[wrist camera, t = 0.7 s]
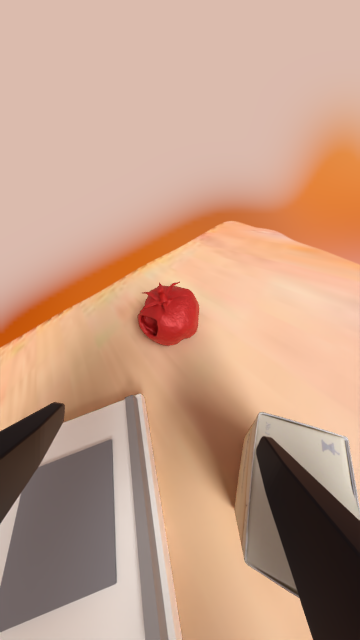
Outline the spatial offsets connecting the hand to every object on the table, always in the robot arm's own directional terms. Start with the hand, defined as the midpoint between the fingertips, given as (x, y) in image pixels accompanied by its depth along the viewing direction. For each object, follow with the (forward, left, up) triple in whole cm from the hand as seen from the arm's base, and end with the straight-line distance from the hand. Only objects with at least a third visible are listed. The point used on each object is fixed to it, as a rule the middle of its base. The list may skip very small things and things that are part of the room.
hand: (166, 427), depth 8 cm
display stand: (-1, +14, -15) cm, 21 cm away
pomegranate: (+18, -2, -16) cm, 24 cm away
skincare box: (-4, -5, -16) cm, 17 cm away
